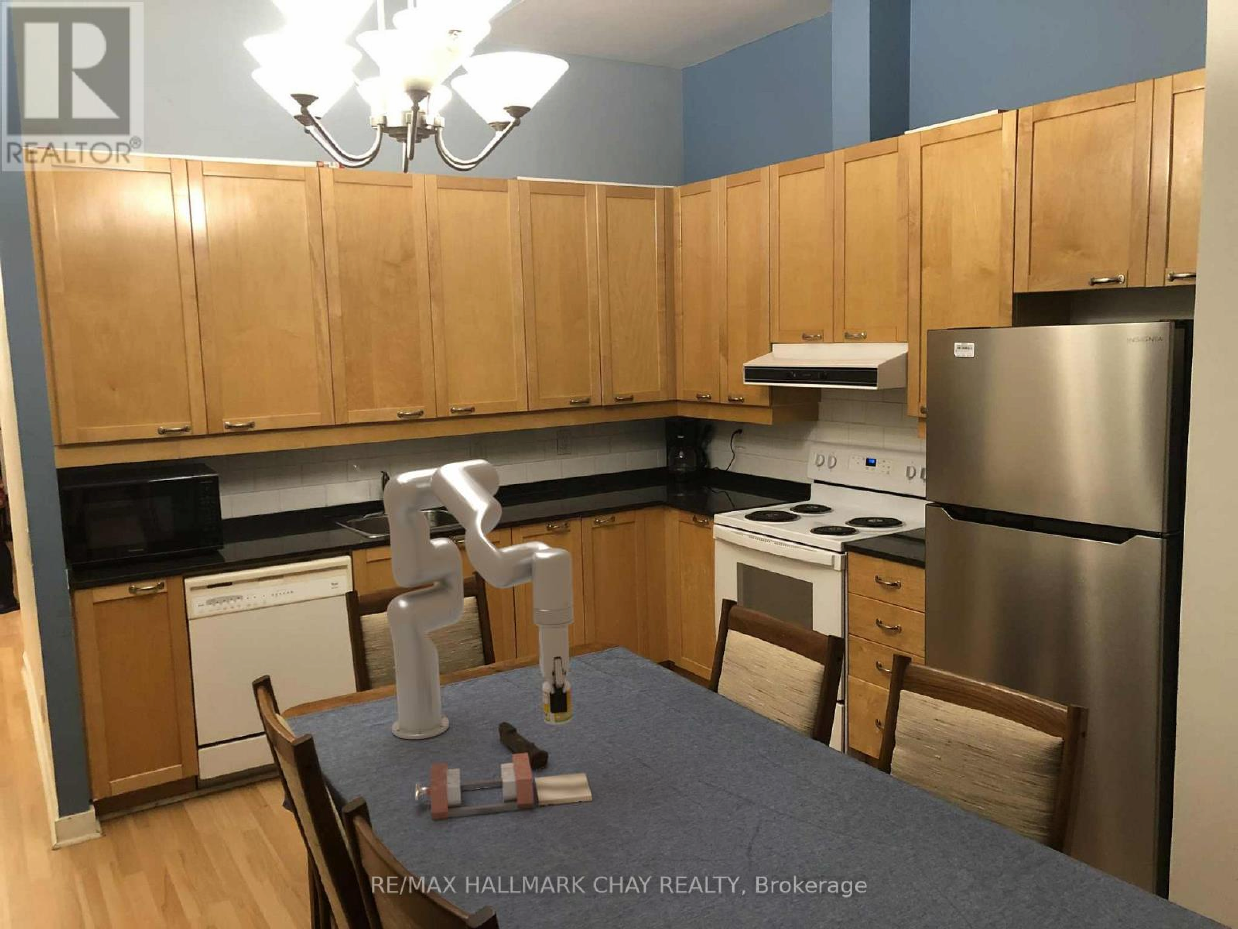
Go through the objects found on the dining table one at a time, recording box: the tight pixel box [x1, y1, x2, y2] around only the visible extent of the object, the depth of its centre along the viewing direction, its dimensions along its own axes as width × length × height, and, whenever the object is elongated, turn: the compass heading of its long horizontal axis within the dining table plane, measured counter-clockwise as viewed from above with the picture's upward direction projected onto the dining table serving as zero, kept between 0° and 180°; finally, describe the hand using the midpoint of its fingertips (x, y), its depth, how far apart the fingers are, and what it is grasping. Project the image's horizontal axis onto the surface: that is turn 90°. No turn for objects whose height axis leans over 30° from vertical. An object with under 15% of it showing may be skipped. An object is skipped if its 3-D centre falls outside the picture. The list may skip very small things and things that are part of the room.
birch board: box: [534, 772, 593, 807], centre depth 197 cm, size 10×10×1 cm
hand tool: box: [498, 721, 549, 771], centre depth 216 cm, size 19×4×5 cm, turn 30°
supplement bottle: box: [541, 673, 573, 726], centre depth 195 cm, size 5×5×10 cm
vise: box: [414, 753, 535, 820], centre depth 194 cm, size 12×22×6 cm, turn 99°
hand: (557, 705), depth 195 cm, fingers closed on supplement bottle, 5 cm apart
